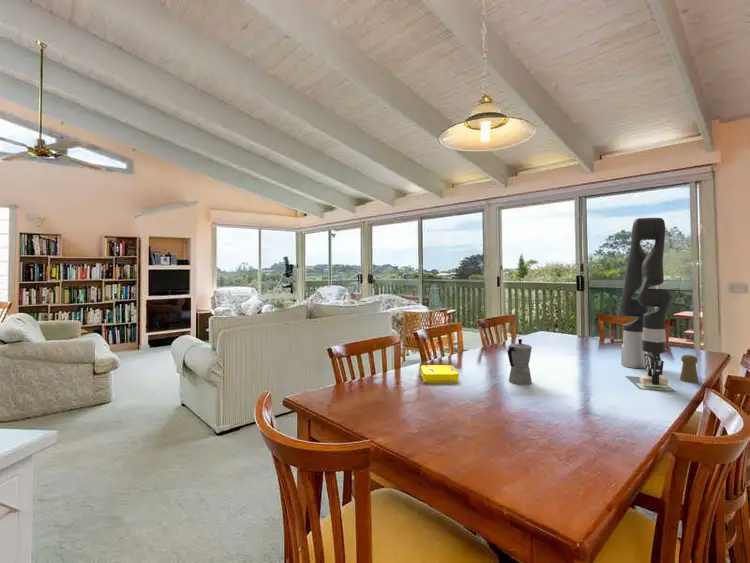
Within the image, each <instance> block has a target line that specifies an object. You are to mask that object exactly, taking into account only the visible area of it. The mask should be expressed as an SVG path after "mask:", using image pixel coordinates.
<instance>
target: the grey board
mask: <svg viewBox="0 0 750 563" xmlns="http://www.w3.org/2000/svg"><path fill="white" fill-rule="evenodd" d="M625 378H627V379H628V381H629V382H630V383H632V384H633V385H634V386H635V387H637V389H638V390H641V391H642V390H643V391H654V392H655V391H657V392H669V393H670V392H671V393H677V391H676V390H675V389H674V388H672V387H671V386H669V385H668V386H658V385H643V384H642V383H641V382H640V376H635V375H634V376H633V375H625Z"/></svg>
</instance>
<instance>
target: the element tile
mask: <svg viewBox="0 0 750 563" xmlns="http://www.w3.org/2000/svg"><path fill="white" fill-rule="evenodd" d="M421 376H422V377H421ZM420 377H421V379H423V380H422V382H423V381H424V382H428V383H427V384H447V383H446V382H458V381H459V382H460V380H459V379H460V378H459V371H458V370H457V369H456V368H455V366H454V365H452V364H451V365H450V364H449V365H447V364H446V365H444V364H442V365H441V364H440V365H439V364H437V365H435V364H434V365H433V364H432V365H431V364H430V365H427V364H426V365H423V364H422V365H421V366H420ZM424 382H423V383H424ZM442 382H443V383H442ZM459 382H458V383H459Z"/></svg>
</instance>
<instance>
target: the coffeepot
mask: <svg viewBox="0 0 750 563" xmlns="http://www.w3.org/2000/svg"><path fill="white" fill-rule="evenodd" d="M517 340H518V343H512V344H509V345H508V350H507V357H508V360H509V365H510V371H509V378H508V381H509V382H510V383H511V382H512V384H514V383H515V384H516V385H521V384H523V385H525V384H526V385H530V384H531V383H532V377H531V376H532V375H531V370H530V366H529V365H530V364H529V363H530V361H531V355H532V347H533V346H531V345H530V344H525V343H523V339H522V338H519V339H517Z"/></svg>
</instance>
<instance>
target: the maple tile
mask: <svg viewBox="0 0 750 563" xmlns="http://www.w3.org/2000/svg"><path fill="white" fill-rule="evenodd" d="M639 377H640V382H641V383H642V384H643V385H653V384H652V376H648V375H644V374H643V375H639ZM668 384H669V380H668V378H666V377H664V376H661V375H659V385H658V386H669V385H668Z"/></svg>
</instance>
